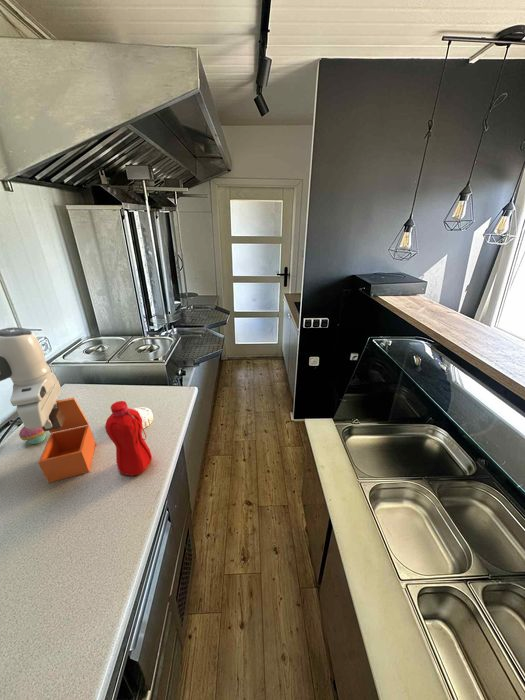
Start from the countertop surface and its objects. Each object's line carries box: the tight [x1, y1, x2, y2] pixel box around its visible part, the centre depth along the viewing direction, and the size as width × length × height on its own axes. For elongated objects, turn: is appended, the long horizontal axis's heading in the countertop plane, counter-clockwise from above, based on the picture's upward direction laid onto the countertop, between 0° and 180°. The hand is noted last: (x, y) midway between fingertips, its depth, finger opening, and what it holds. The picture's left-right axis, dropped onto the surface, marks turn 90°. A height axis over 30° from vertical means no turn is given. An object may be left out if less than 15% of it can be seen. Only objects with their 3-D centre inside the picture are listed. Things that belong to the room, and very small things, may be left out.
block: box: [42, 408, 65, 432], centre depth 87 cm, size 4×4×4 cm
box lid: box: [48, 397, 90, 434], centre depth 94 cm, size 14×12×1 cm
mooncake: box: [133, 406, 154, 430], centre depth 114 cm, size 12×12×4 cm
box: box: [37, 424, 97, 483], centre depth 95 cm, size 14×12×9 cm
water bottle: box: [104, 400, 153, 477], centre depth 90 cm, size 9×11×25 cm
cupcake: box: [18, 425, 47, 445], centre depth 105 cm, size 9×8×12 cm
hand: (52, 420), depth 87 cm, fingers closed on block, 4 cm apart
